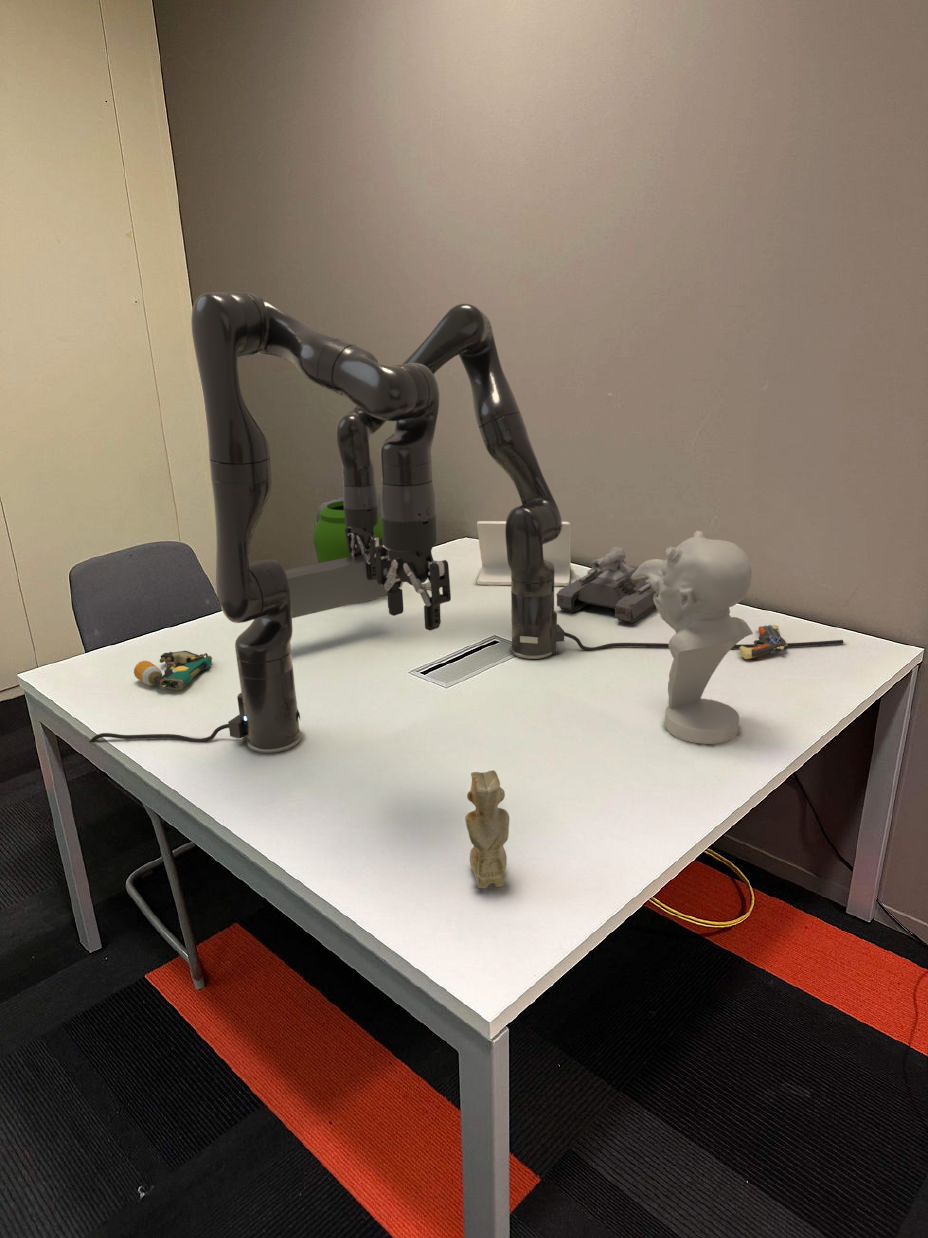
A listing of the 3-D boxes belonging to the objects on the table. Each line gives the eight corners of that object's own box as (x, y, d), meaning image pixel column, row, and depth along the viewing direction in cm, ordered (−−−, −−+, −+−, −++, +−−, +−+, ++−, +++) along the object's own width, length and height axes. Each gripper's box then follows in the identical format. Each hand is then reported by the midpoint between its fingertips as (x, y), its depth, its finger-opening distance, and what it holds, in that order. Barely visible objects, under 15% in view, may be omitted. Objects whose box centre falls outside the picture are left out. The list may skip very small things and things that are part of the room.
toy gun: (742, 650, 179) (792, 647, 177) (732, 623, 197) (777, 620, 194) (742, 662, 179) (792, 659, 177) (732, 635, 197) (778, 632, 195)
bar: (376, 589, 201) (374, 551, 198) (388, 595, 197) (386, 557, 193) (273, 612, 188) (268, 573, 185) (283, 620, 183) (279, 579, 180)
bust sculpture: (671, 682, 170) (682, 511, 158) (763, 732, 151) (784, 540, 138) (606, 701, 164) (613, 523, 151) (694, 755, 144) (709, 555, 131)
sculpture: (507, 859, 119) (506, 764, 113) (512, 893, 112) (511, 794, 107) (465, 861, 118) (462, 767, 113) (468, 895, 112) (465, 796, 106)
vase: (406, 590, 229) (401, 501, 221) (360, 612, 214) (353, 517, 206) (350, 579, 239) (343, 494, 231) (303, 600, 224) (293, 509, 216)
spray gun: (177, 659, 191) (231, 671, 185) (120, 684, 176) (176, 698, 171) (176, 641, 190) (230, 653, 184) (118, 665, 175) (174, 678, 169)
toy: (603, 584, 229) (605, 530, 224) (673, 597, 218) (677, 540, 213) (555, 612, 210) (556, 553, 205) (630, 627, 199) (633, 566, 194)
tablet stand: (569, 585, 229) (570, 524, 223) (476, 584, 232) (475, 523, 226) (570, 566, 246) (571, 508, 240) (484, 564, 249) (483, 507, 243)
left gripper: (357, 509, 122) (365, 615, 128) (419, 526, 112) (424, 641, 118) (398, 500, 127) (404, 603, 132) (462, 516, 116) (465, 627, 122)
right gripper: (331, 500, 193) (337, 571, 199) (360, 512, 182) (366, 587, 188) (360, 495, 197) (366, 565, 203) (391, 507, 185) (395, 580, 191)
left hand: (414, 621), depth 125 cm, fingers open, 8 cm apart
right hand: (366, 575), depth 195 cm, fingers closed on bar, 6 cm apart
